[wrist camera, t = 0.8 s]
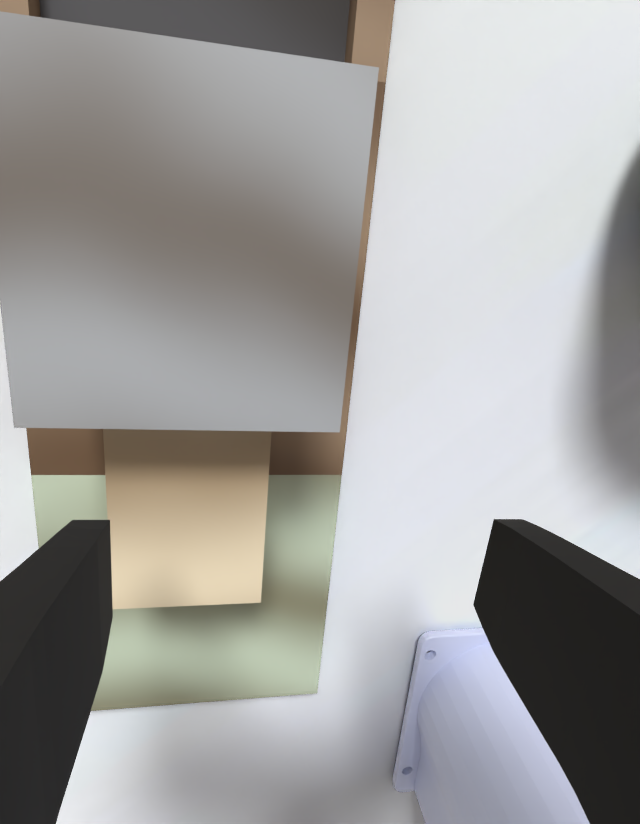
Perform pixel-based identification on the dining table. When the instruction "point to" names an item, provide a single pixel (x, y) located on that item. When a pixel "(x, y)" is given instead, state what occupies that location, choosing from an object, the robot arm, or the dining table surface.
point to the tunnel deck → (192, 284)
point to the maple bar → (186, 516)
